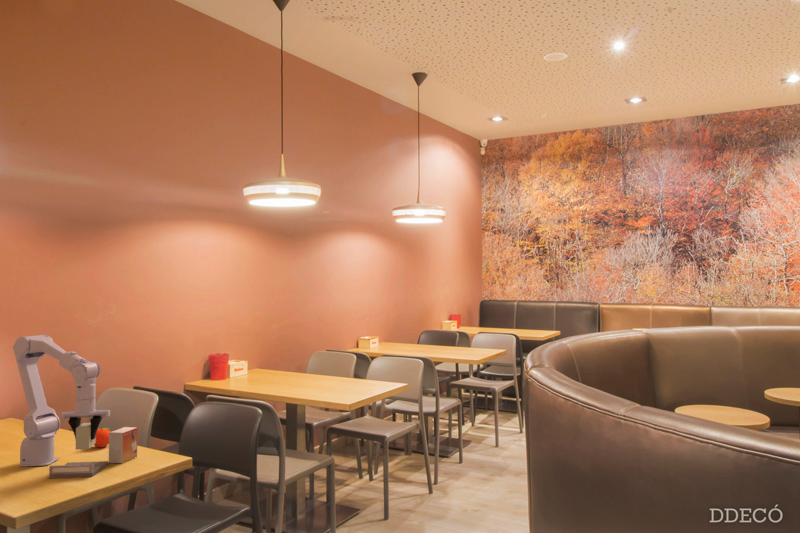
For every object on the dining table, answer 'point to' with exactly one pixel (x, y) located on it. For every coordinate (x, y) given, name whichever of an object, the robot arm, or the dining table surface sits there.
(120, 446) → the small box
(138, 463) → the dining table surface
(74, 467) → the grey square slab
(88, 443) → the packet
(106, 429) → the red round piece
